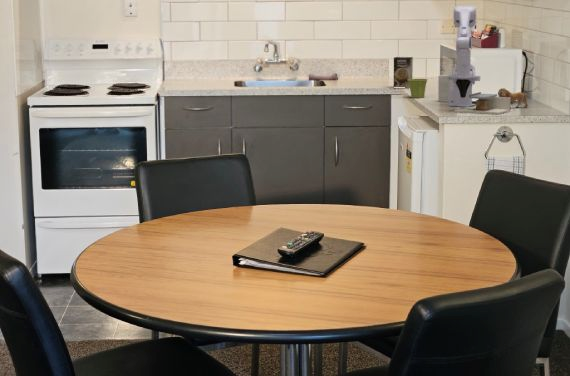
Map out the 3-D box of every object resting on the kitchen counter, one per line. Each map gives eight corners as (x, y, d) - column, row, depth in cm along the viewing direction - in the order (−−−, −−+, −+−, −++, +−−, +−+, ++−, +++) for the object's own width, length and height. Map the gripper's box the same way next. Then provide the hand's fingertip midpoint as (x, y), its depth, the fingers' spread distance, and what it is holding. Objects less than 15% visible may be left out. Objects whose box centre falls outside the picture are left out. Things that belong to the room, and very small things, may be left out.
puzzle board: (454, 112, 406) (454, 98, 405) (466, 108, 416) (466, 95, 415) (499, 114, 395) (499, 100, 394) (510, 111, 405) (510, 97, 403)
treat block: (475, 112, 405) (476, 100, 404) (479, 110, 408) (479, 99, 407) (484, 112, 403) (485, 100, 402) (488, 111, 406) (488, 99, 405)
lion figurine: (501, 110, 409) (502, 88, 407) (494, 108, 414) (495, 87, 412) (531, 107, 414) (531, 86, 412) (524, 106, 419) (524, 85, 417)
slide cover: (468, 98, 402) (468, 94, 402) (479, 95, 411) (479, 92, 411) (486, 99, 398) (486, 95, 398) (496, 96, 407) (496, 92, 406)
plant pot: (404, 97, 463) (404, 79, 461) (421, 96, 467) (421, 78, 465) (413, 99, 455) (413, 80, 453) (431, 97, 458) (431, 79, 456)
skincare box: (454, 101, 442) (454, 75, 440) (449, 102, 439) (449, 76, 437) (442, 100, 446) (443, 74, 444) (437, 101, 443) (438, 75, 441)
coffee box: (393, 88, 502) (393, 57, 498) (395, 87, 508) (395, 56, 504) (410, 88, 499) (410, 57, 495) (412, 87, 505) (412, 56, 501)
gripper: (443, 65, 407) (443, 97, 410) (475, 66, 399) (475, 99, 402) (450, 64, 413) (450, 95, 416) (482, 65, 405) (482, 97, 407)
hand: (463, 97), depth 409 cm, fingers closed
